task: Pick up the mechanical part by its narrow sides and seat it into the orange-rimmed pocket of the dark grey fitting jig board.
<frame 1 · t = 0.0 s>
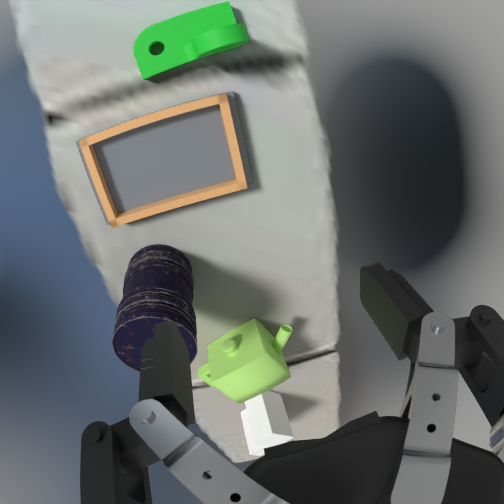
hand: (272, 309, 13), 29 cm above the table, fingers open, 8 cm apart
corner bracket: (261, 403, 68), on the table
fitting jig: (164, 157, 36), on the table
mechanical part: (185, 40, 30), on the table
gearbox: (243, 337, 55), on the table
storage jar: (159, 272, 45), on the table
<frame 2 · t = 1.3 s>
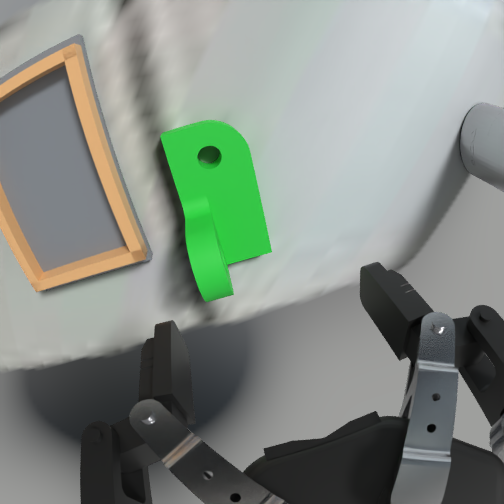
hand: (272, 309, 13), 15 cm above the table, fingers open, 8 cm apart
fitting jig: (52, 173, 21), on the table
mechanical part: (218, 189, 26), on the table
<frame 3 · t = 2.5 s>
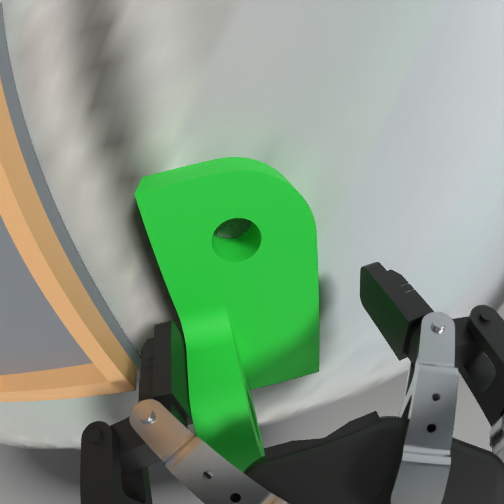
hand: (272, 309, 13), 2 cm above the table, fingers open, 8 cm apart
mechanical part: (242, 279, 15), on the table
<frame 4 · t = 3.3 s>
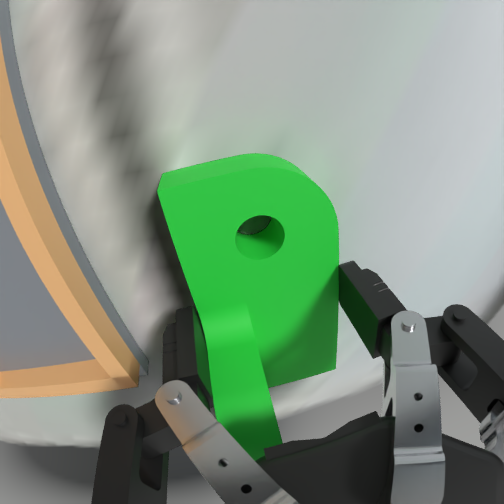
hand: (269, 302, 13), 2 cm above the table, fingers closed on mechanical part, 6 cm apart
mechanical part: (261, 277, 15), on the table, touching gripper
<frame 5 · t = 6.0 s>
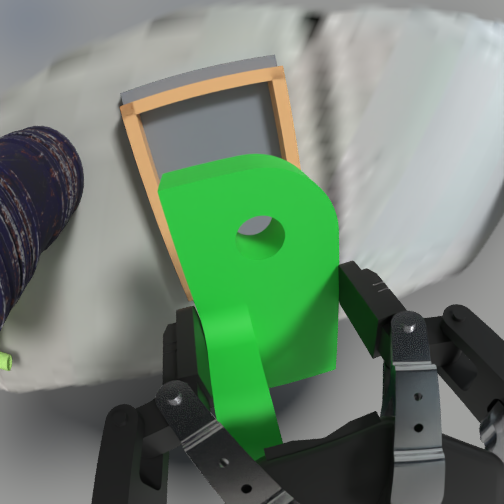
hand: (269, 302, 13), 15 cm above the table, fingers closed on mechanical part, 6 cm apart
fitting jig: (224, 184, 26), on the table
mechanical part: (261, 277, 15), point 13 cm above the table, touching gripper
storage jar: (38, 178, 22), on the table
when the fingers open (4 cm above the table, at t = 9.0 s): mechanical part drops 1 cm, resting on fitting jig.
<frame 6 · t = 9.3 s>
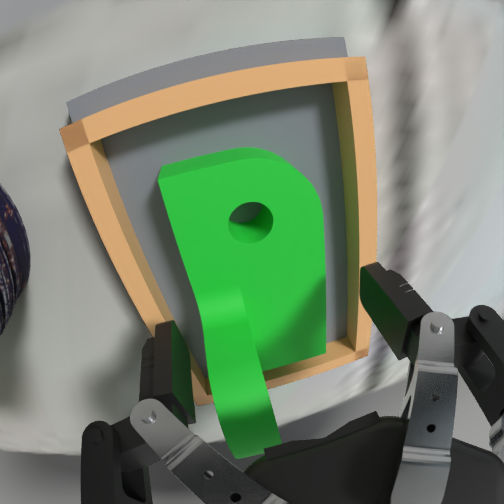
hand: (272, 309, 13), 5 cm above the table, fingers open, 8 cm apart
fitting jig: (250, 252, 16), on the table
mechanical part: (253, 263, 16), point 1 cm above the table, touching fitting jig
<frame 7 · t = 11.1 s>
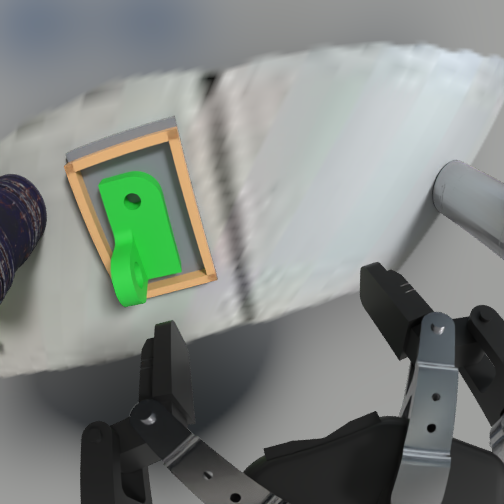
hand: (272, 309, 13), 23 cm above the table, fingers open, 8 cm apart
fitting jig: (145, 217, 33), on the table
mechanical part: (143, 222, 33), point 1 cm above the table, touching fitting jig
storage jar: (14, 211, 29), on the table
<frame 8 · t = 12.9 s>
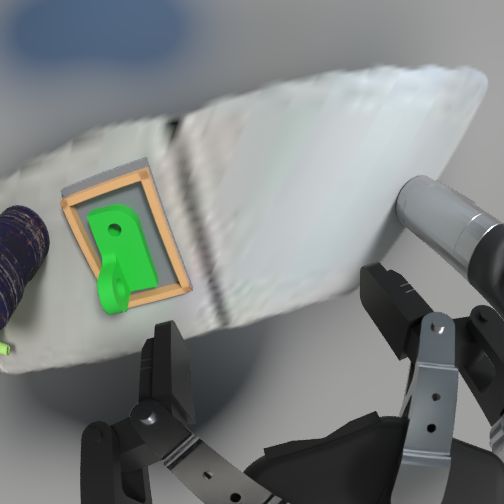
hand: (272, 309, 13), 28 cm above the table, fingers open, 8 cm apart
fitting jig: (129, 240, 40), on the table
mechanical part: (125, 245, 39), point 1 cm above the table, touching fitting jig
storage jar: (22, 235, 36), on the table
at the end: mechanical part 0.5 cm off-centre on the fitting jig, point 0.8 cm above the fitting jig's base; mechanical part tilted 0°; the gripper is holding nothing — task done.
